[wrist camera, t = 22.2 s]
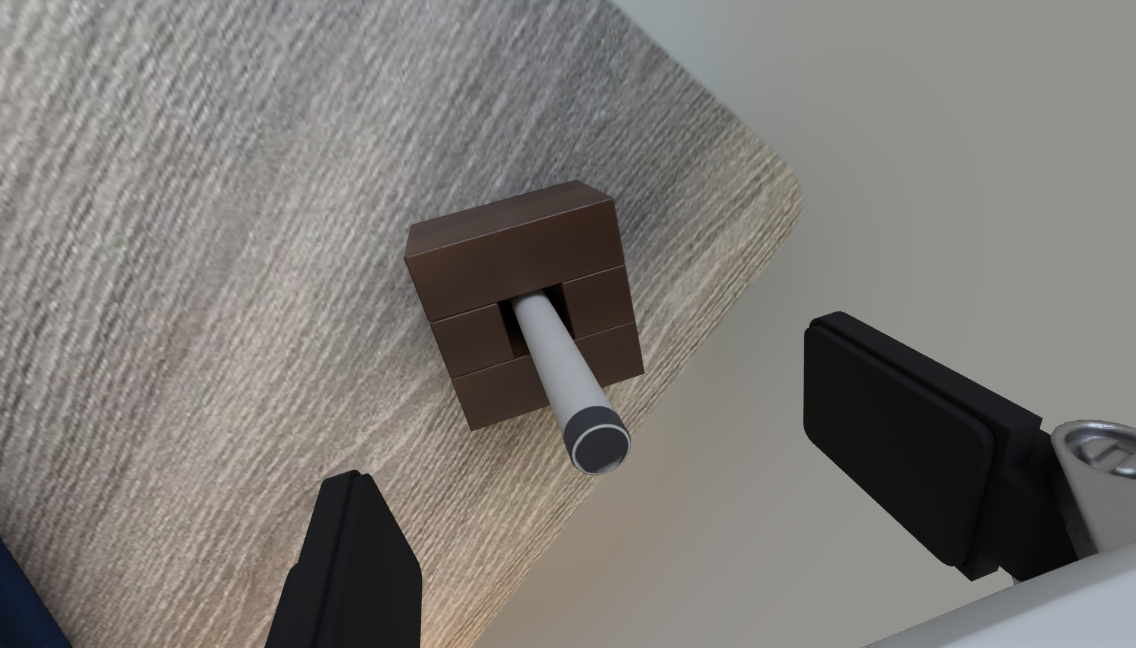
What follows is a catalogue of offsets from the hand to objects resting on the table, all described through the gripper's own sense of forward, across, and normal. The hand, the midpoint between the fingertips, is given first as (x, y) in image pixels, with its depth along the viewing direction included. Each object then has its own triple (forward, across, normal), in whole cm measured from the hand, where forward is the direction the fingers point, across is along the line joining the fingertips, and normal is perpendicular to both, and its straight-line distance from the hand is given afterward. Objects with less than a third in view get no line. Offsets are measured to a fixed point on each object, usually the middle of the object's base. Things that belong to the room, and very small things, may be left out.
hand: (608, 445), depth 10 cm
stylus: (+14, 0, +1) cm, 14 cm away
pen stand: (+14, 0, +1) cm, 14 cm away
